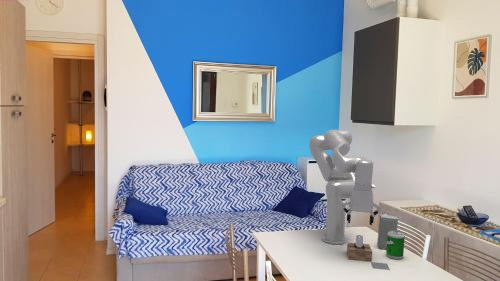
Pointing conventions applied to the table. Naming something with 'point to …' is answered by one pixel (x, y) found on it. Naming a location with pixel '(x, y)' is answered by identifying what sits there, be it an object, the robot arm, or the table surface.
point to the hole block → (359, 252)
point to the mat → (380, 266)
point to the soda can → (395, 244)
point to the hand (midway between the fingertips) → (359, 223)
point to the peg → (359, 241)
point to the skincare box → (385, 229)
